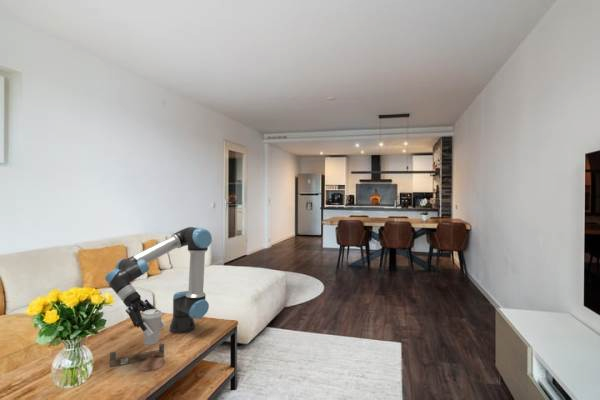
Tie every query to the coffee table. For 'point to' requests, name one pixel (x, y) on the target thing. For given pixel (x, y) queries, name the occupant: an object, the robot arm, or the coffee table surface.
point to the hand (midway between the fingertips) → (157, 330)
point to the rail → (141, 359)
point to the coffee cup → (152, 325)
